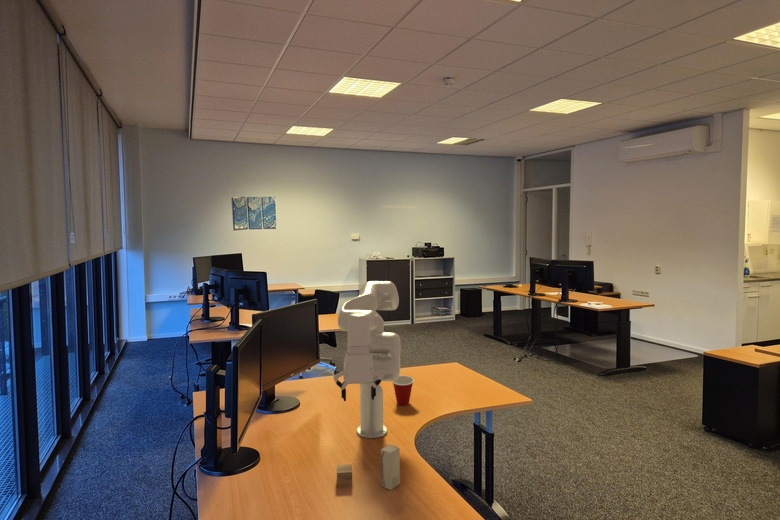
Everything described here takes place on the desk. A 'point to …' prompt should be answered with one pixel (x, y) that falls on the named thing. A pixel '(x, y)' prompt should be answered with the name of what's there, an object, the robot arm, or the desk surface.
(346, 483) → the walnut cube
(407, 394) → the plastic cup
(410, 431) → the desk surface
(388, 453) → the box
